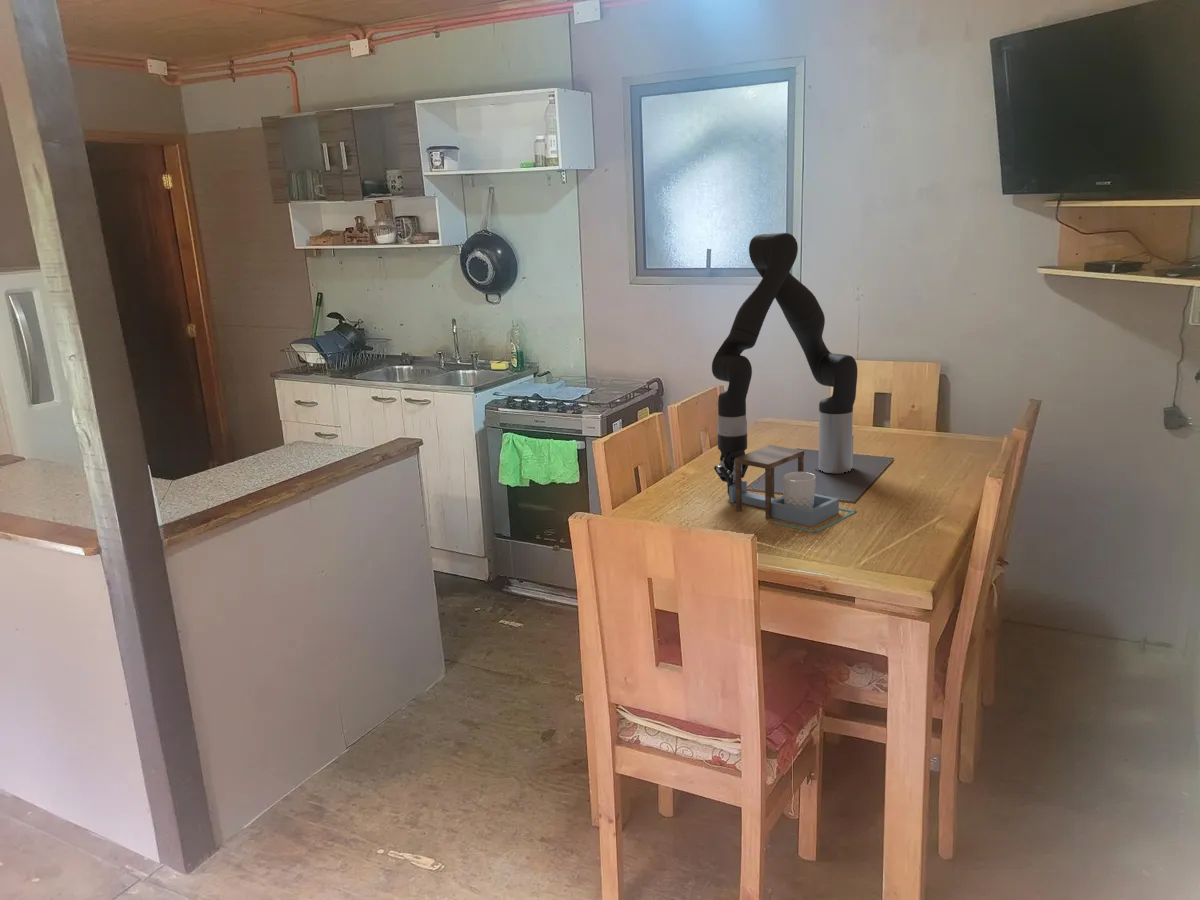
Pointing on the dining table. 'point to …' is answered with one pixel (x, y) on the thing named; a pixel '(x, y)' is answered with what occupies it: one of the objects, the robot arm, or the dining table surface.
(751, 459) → the small brown wooden table
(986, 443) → the dining table surface
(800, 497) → the white cup
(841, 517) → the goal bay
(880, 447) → the dining table surface
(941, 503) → the dining table surface
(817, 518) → the sled frame
